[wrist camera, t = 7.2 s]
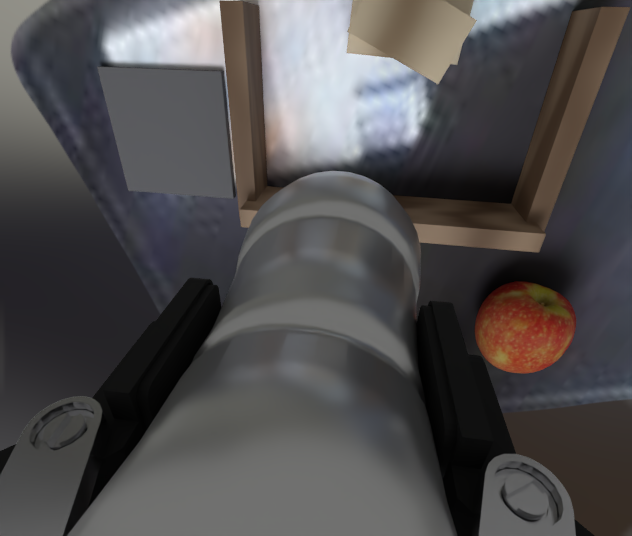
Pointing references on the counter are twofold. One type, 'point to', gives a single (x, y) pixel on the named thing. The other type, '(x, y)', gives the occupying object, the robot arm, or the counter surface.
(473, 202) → the frame
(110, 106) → the mat
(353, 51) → the bottom offcut
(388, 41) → the top offcut
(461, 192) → the counter surface
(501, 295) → the apple
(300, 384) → the plastic bottle
